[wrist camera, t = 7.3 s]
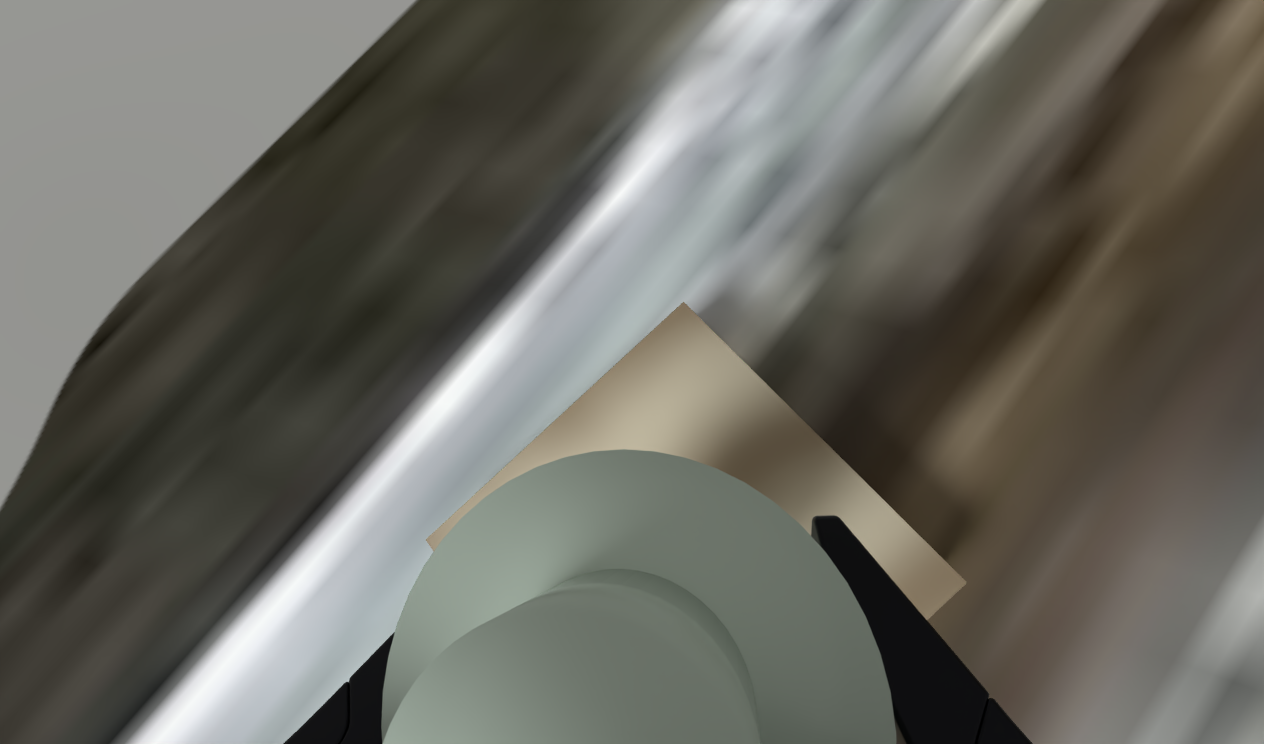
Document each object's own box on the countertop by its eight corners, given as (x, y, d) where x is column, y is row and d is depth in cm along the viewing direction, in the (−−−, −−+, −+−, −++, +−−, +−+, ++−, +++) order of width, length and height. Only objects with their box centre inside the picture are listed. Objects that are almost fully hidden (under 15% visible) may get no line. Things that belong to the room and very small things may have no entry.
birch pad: (938, 571, 20) (966, 582, 18) (669, 823, 20) (661, 869, 18) (688, 321, 24) (683, 301, 21) (457, 534, 23) (425, 539, 21)
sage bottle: (792, 492, 16) (1010, 480, 4) (775, 681, 15) (988, 1591, 3) (621, 467, 17) (312, 390, 4) (594, 644, 16) (112, 1171, 4)
